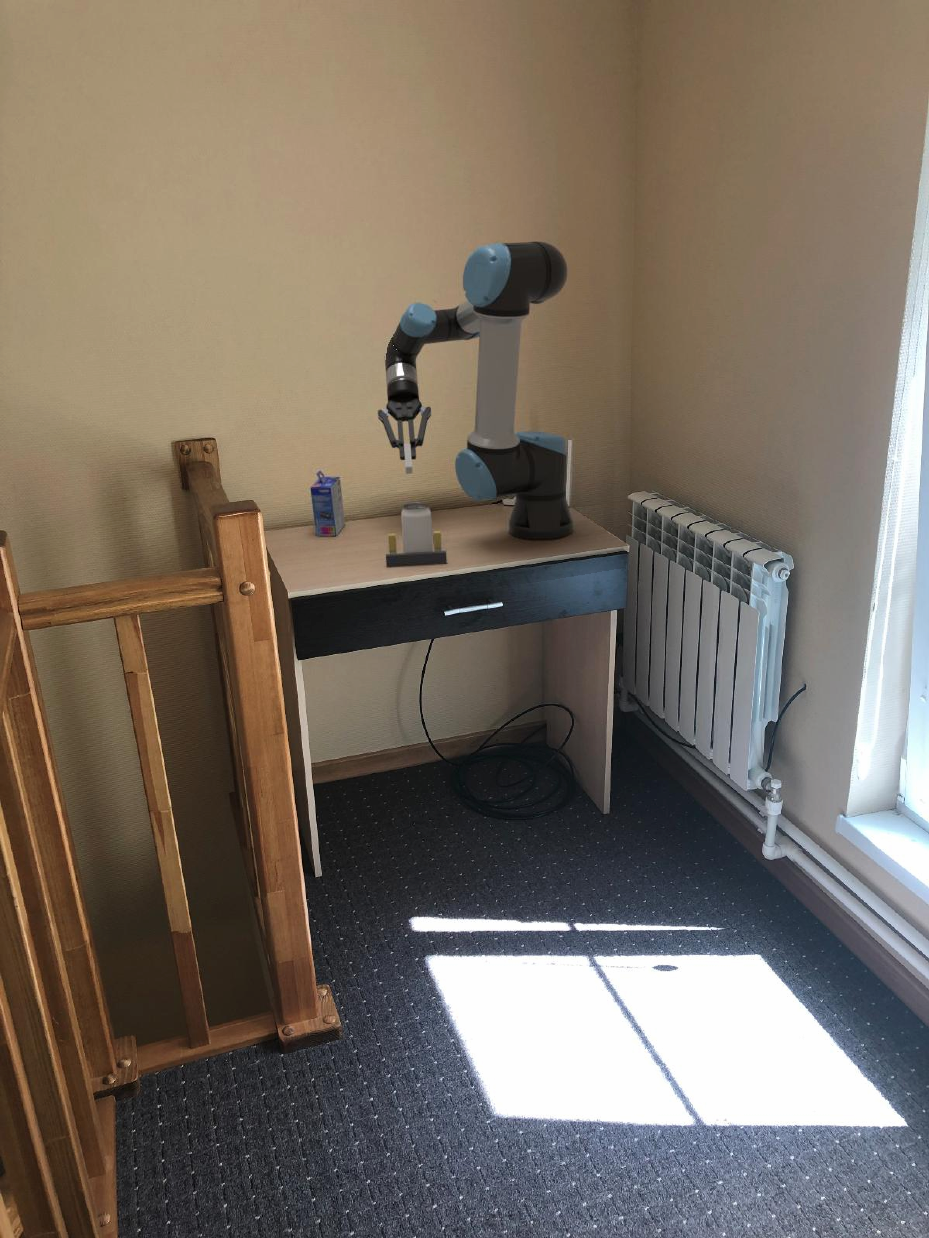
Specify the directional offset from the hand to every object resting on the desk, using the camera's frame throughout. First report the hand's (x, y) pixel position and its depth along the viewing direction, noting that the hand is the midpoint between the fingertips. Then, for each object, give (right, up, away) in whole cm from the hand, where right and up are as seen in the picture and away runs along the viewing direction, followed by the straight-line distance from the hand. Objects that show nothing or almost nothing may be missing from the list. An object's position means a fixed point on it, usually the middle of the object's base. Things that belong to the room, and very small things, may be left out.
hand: (409, 470), depth 237 cm
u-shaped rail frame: (+2, -19, -6) cm, 20 cm away
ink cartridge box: (-20, -13, +12) cm, 26 cm away
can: (+3, -21, -11) cm, 24 cm away
